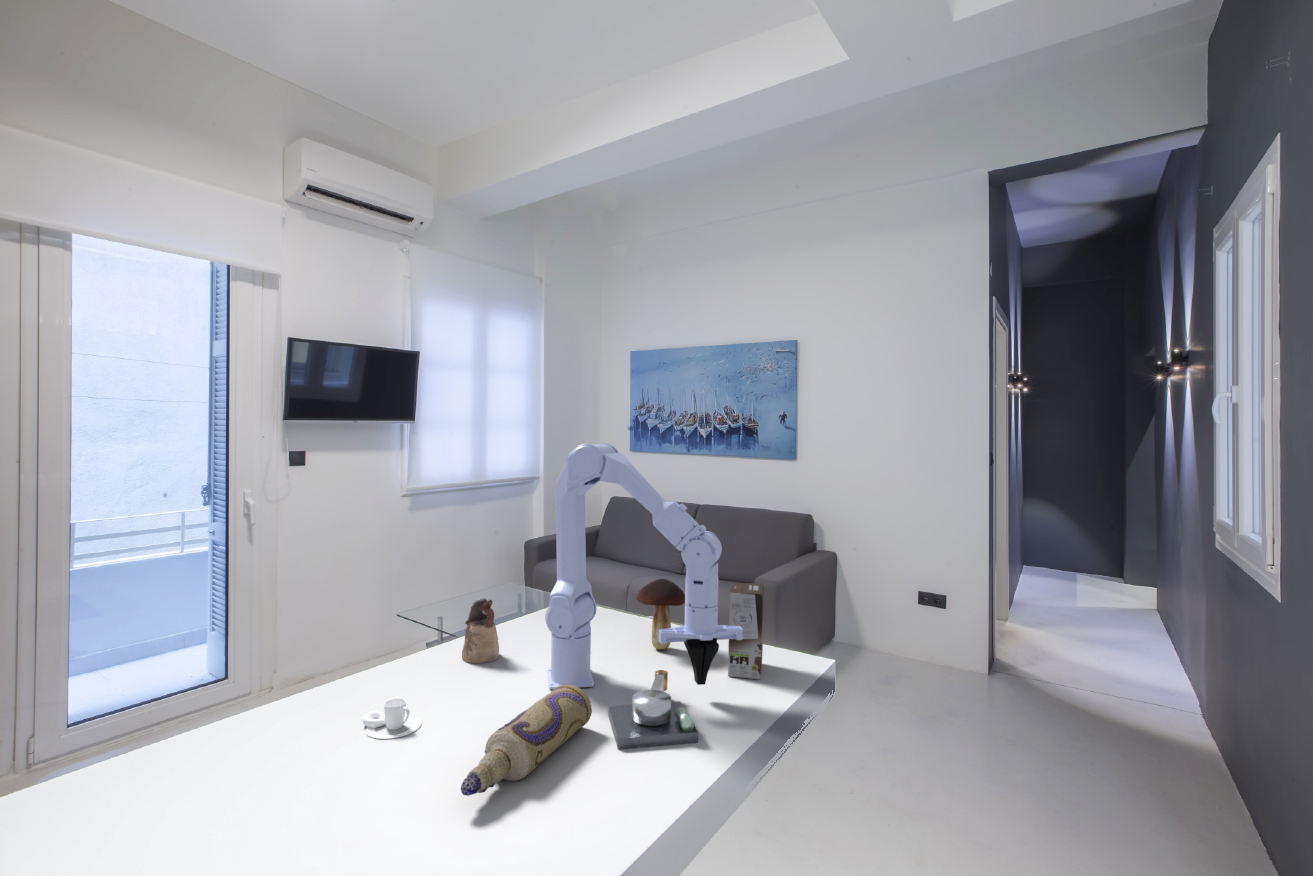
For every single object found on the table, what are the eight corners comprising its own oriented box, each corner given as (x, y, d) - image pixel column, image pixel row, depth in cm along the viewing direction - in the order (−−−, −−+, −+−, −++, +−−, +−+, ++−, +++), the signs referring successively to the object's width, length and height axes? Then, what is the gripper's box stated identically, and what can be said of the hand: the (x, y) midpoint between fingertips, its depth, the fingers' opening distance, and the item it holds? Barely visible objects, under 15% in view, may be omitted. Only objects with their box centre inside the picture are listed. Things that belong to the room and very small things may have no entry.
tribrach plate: (608, 715, 101) (608, 694, 101) (680, 710, 104) (680, 689, 104) (617, 749, 91) (618, 725, 91) (697, 742, 93) (698, 718, 93)
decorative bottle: (551, 720, 100) (552, 679, 100) (593, 730, 97) (594, 687, 97) (435, 808, 76) (437, 753, 76) (486, 824, 73) (487, 767, 73)
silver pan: (668, 727, 94) (668, 707, 94) (628, 724, 95) (629, 704, 95) (679, 687, 109) (679, 670, 109) (644, 685, 110) (645, 667, 110)
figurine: (483, 649, 132) (484, 592, 132) (506, 656, 128) (507, 597, 128) (455, 658, 126) (455, 598, 126) (477, 666, 122) (478, 604, 122)
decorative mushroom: (690, 643, 137) (691, 575, 137) (681, 660, 127) (682, 586, 127) (642, 639, 140) (643, 572, 140) (628, 655, 129) (630, 583, 129)
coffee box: (761, 680, 117) (763, 594, 117) (727, 677, 119) (728, 591, 119) (763, 663, 126) (764, 583, 126) (731, 660, 128) (732, 581, 127)
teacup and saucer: (354, 727, 97) (355, 701, 97) (404, 711, 102) (405, 686, 102) (379, 747, 91) (379, 719, 91) (431, 729, 96) (431, 703, 96)
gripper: (665, 611, 103) (663, 694, 103) (749, 608, 106) (747, 688, 106) (656, 600, 110) (655, 678, 110) (735, 597, 113) (734, 673, 113)
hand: (700, 682), depth 108 cm, fingers closed
